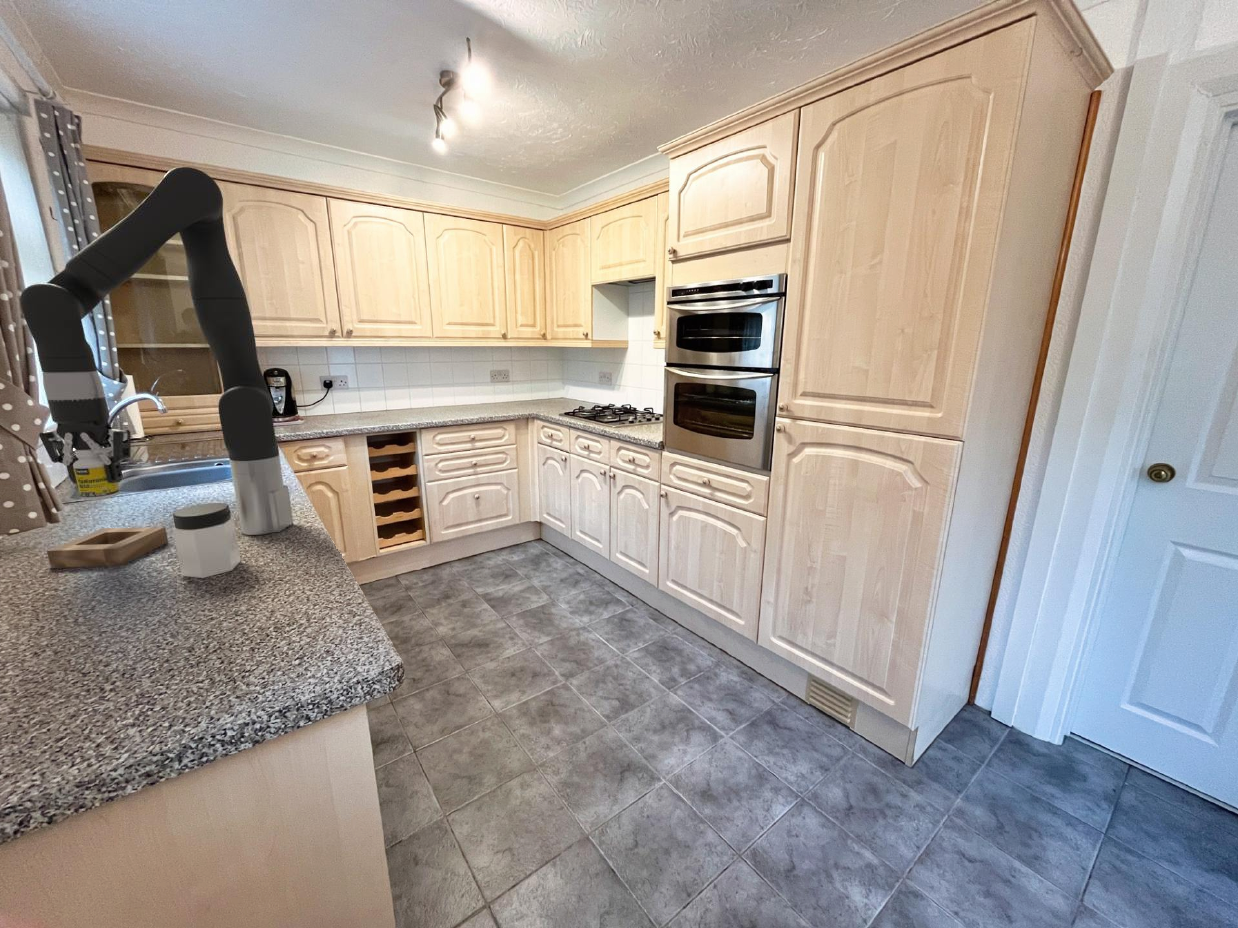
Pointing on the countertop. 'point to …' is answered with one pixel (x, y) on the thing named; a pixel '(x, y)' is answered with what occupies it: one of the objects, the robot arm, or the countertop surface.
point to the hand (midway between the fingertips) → (97, 482)
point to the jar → (205, 540)
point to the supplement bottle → (93, 477)
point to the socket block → (107, 547)
